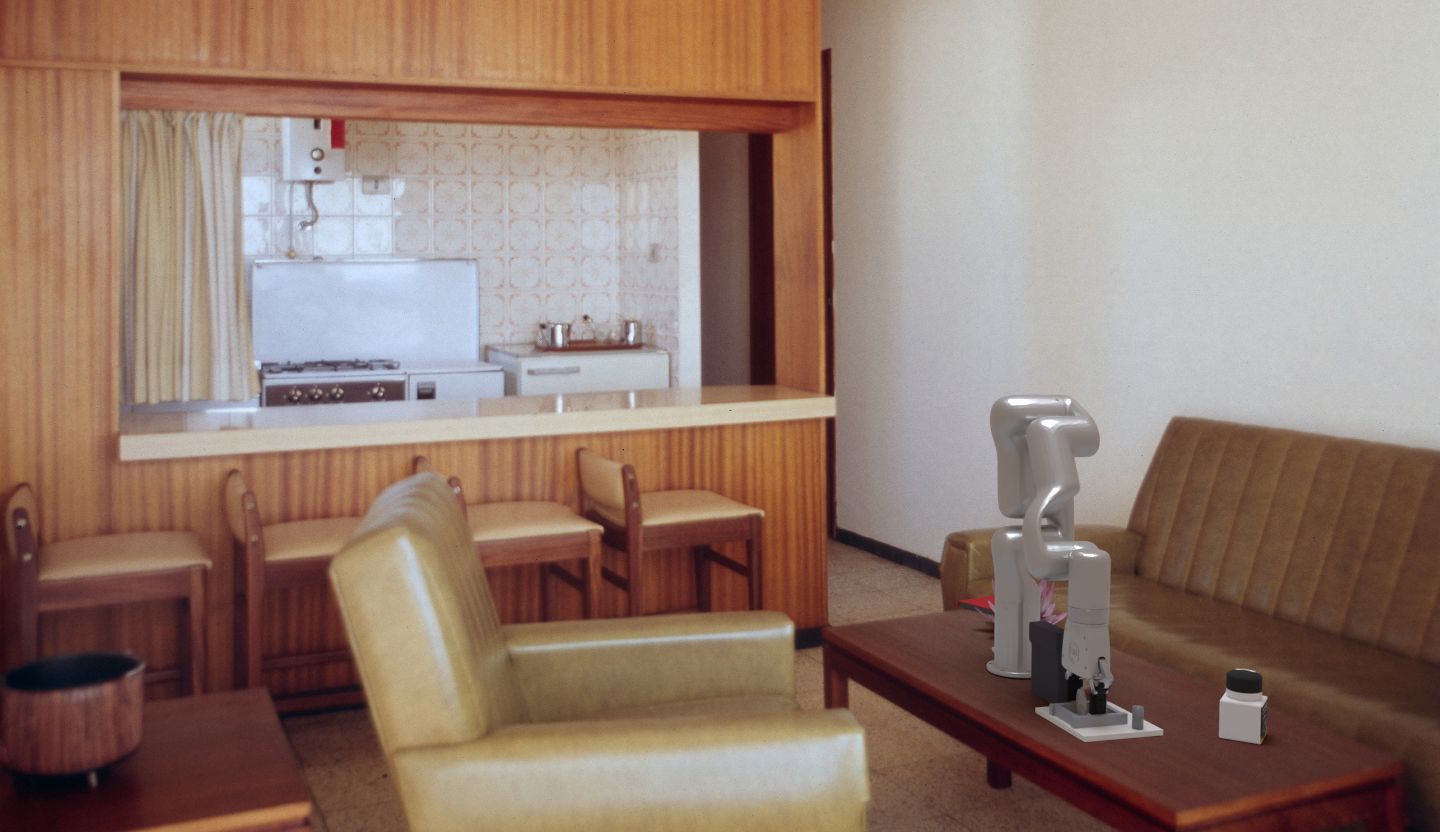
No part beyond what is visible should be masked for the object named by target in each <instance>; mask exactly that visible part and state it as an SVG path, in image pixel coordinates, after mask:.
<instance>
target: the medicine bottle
mask: <svg viewBox="0 0 1440 832" xmlns="http://www.w3.org/2000/svg"><path fill="white" fill-rule="evenodd" d="M1225 675H1226V676H1225V678H1226V681H1225V682H1226V683H1225V692H1224V694H1222V697H1221V698H1220V700H1219V713H1218V715H1219V718H1218V719H1219V720H1218V723H1219V724H1218V738H1220V739H1223V740H1224V739H1225V740H1231V741H1237V742H1242V743H1249V744H1250V743H1251V744H1257V745H1261V744H1262V743H1263V741H1264V739H1265V737H1266V735H1267V732H1268V702H1269V701H1268V698H1269V697H1268V696H1266V695H1263V675H1261V673H1259V672H1258V671H1255V670H1251V669H1246V668H1234V669H1231V670H1228V671H1227V672H1226V674H1225Z"/></svg>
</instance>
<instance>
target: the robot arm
mask: <svg viewBox="0 0 1440 832" xmlns="http://www.w3.org/2000/svg"><path fill="white" fill-rule="evenodd" d="M989 426H990V427H989V428H990V431H991V432H990V434H991V437H992V439H993V442H994V446H995V451H996V458H997V464H996V465H997V467H996V469H997V471H996V472H997V475H996V476H997V479H996V480H997V505H998V508H999V509H998V510H999V512H1000V514H1001V515H1002V516H1004V517H1005V518H1008V519H1013V520H1014V519H1015V520H1017V519H1018V520H1023V521H1022V524H1016V525H1015V524H1014V525H1013V524H1012V525H1006V526H1003V527H1002V526H1001V527H1000V528H998V529H997V530H995V532H994V533H993V534H992V536H991V541H990V550H991V557H992V562H993V563H992V564H993V572H994V584H995V623H994V639H993V641H994V642H993V643H994V645H993V646H992V647H991V651H992V652H993V653H994V654H993V657H994V658H993V659H992V660H989V661H988V662H987V663H986V670H988V672H990V673H991V674H994V675H997V676H1001V677H1006V678H1015V679H1031V651H1032V644H1031V642H1030V640H1029V623H1030V622H1034V621H1040V589H1039V587H1038V583H1037V582H1036V581H1035V579H1036V580H1038V581H1049V582H1052V581H1054V582H1055V581H1068V582H1067V585H1068V586H1067V587H1068V588H1067V611H1066V612H1067V616H1066V620H1065V625H1064V628H1063V629H1064V636H1063V646H1062V665H1063V667H1064V668H1065V671H1066V674H1065V677H1066V679H1068V680H1067V683H1066V700H1068V701H1073V702H1076V695H1077V691H1078V689H1081V687H1083V688H1084V681H1085V680H1087V681H1088V682H1089V685H1090V689H1091V690H1092V693H1091V692H1089V700H1088V701H1089V713H1090V714H1091V715H1095V714H1105V713H1106V699H1107V694H1108V693H1109V689H1110V688H1111V685H1112V683H1113V681H1114V680H1115V679H1114V676H1113V673H1112V672H1111V645H1110V644H1111V642H1110V641H1111V640H1110V631H1109V625H1110V603H1111V601H1110V599H1111V569H1112V568H1111V565H1112V559H1111V556H1110V553H1108V552H1107V551H1106V550H1103V549H1100V548H1099V547H1098V546H1097V545H1096V543H1094V542H1092V541H1088V540H1075V499H1074V497H1075V496H1077V495H1078V494H1079V492H1080V490H1081V483H1080V479H1079V478H1080V477H1079V474H1078V470H1077V464H1076V460H1075V458H1090V457H1093V456H1094V455H1096V454H1097V452H1098V450H1099V447H1100V443H1101V437H1100V431H1099V427H1098V426H1097V423H1096V422H1095V420H1094V419H1093V416H1091V414H1090V413H1089V412H1088V411H1087V410H1086V409H1085V408H1084V407H1083V406H1082V405H1081V404H1080V403H1079V402H1078V401H1077V400H1076V399H1075V398H1074V397H1072V396H1070V395H1065V394H1014V395H1006V396H1002V397H1000V398H998V399H997V400H995V401H994V403H993V404H992V406H991V409H990V414H989ZM1042 519H1046V523H1047V524H1042ZM1097 681H1099V683H1098V684H1097V683H1096V682H1097ZM1096 684H1097V686H1096ZM1091 690H1090V691H1091Z"/></svg>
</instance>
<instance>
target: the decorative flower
mask: <svg viewBox="0 0 1440 832" xmlns="http://www.w3.org/2000/svg"><path fill="white" fill-rule="evenodd" d="M991 583H992V584H991V586H992V591H993V592H992V593H993V595H995V581H994V580H993V579H991ZM1037 585H1038V587H1039V589H1040V621H1047V622H1049V623H1051V624H1053V625H1056V624H1057V623H1059V622H1060V621H1062V620H1064V619H1065V618H1067V612H1068V611H1065V612H1061V613H1057V614H1053V613H1054V610H1055V608H1056V607H1055V606H1056V603H1055V602H1054V603H1051V601H1052V599H1053V595H1054V593H1055V581H1054V582H1053V583H1052V584H1051V585H1050V586H1049V588H1048V582H1047V581H1042V580H1040V582H1039V583H1037ZM988 603H989V606H990V607H991V609H992V610H993V612H994V613H995V606H994V605H993V604H992V603H991V602H990V601H988ZM1050 603H1051V604H1050ZM975 608H976V607H975ZM976 609H977V608H976ZM977 610H978V611H979V612H978V613H980V614H981V615H982V616H984V617H986V619H988V620H990V621H991V622H992V623H994V624H995V617H994V616H992V615H987V614H985V613H983V612H982V611H980V610H979V609H977Z"/></svg>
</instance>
